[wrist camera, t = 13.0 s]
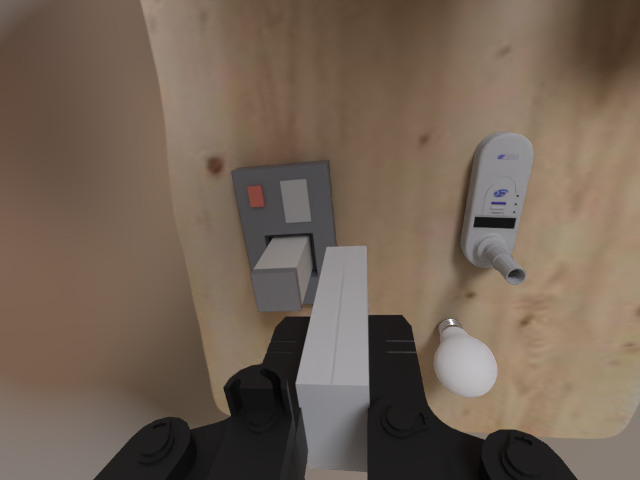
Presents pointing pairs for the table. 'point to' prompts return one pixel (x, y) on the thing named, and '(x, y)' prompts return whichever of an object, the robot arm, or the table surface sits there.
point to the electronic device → (497, 203)
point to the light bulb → (463, 362)
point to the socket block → (287, 209)
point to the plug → (283, 274)
